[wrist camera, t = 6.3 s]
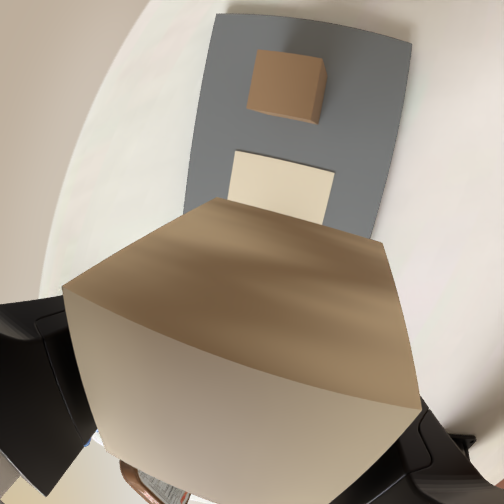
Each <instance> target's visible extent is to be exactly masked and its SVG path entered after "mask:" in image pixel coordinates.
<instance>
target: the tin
mask: <svg viewBox="0 0 504 504" xmlns="http://www.w3.org/2000/svg"><path fill="white" fill-rule="evenodd" d="M120 470H121V473H122V475H123V478H124V479H125V481H126V482H127V483H128V484H129V485H130V486H131V487H132V488H133V489H134V490H135V491H136V492H137V493H138V494H139V495H140V496H141V497H143V498H144V499H145V500H146V501H147V502H148V503H149V504H187V503H188V500H189V498H190V495H191V493H188V492H186V491H183V490H181V489H179V488H176V487H174V486H172V485H170V484H167V483H165V482H163V481H161V480H159V479H157V478H155V477H152V476H150V475H148V474H146V473H144V472H142V471H140V470H139V469H137V468H135V467H133V466H131V465H129V464H127V463H125V462H124V461H122V460H120Z"/></svg>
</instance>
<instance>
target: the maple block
mask: <svg viewBox="0 0 504 504" xmlns="http://www.w3.org/2000/svg"><path fill="white" fill-rule="evenodd" d="M62 291H63V298H64V304H65V310H66V315H67V320H68V325H69V330H70V335H71V340H72V344H73V348H74V353H75V357H76V361H77V365H78V368H79V372H80V376H81V379H82V383H83V386H84V390H85V393H86V396H87V399H88V402H89V405H90V409H91V412H92V414H93V417H94V420H95V423H96V426H97V429H98V431H99V434H100V437H101V439H102V442H103V444H104V447H105V449H106V451H107V452H108V453H110V454H111V455H113V456H115V457H117V458H118V459H120V460H122V461H124V462H125V463H127V464H129V465H131V466H133V467H135V468H137V469H139V470H140V471H142V472H144V473H146V474H148V475H150V476H152V477H155V478H157V479H159V480H161V481H163V482H165V483H167V484H170V485H172V486H174V487H176V488H179V489H181V490H183V491H186V492H188V493H191V494H193V495H196V496H198V497H201V498H204V499H206V500H209V501H212V502H215V503H217V504H329V503H330V502H331V501H332V500H334V499H335V498H336V497H337V496H339V495H340V494H341V493H342V492H343V491H344V490H346V489H347V488H348V487H349V486H350V485H351V484H352V483H354V482H355V481H356V480H357V479H358V478H359V477H360V476H361V475H362V474H363V473H364V472H365V471H367V470H368V469H369V468H370V467H371V466H372V465H373V464H374V463H375V462H376V461H377V460H378V459H379V458H380V457H381V456H382V455H383V454H384V453H385V452H386V451H387V450H388V449H389V448H390V446H391V445H392V444H393V443H394V442H395V441H396V440H397V439H398V438H399V437H400V436H401V434H402V433H403V432H404V431H405V430H406V429H407V428H408V426H409V425H410V424H411V423H412V422H413V421H414V419H415V418H416V417H417V416H418V415H419V413H420V412H421V411H422V407H421V400H420V394H419V388H418V382H417V376H416V371H415V366H414V361H413V356H412V351H411V346H410V342H409V337H408V333H407V328H406V324H405V320H404V316H403V312H402V308H401V304H400V301H399V297H398V293H397V290H396V286H395V282H394V279H393V276H392V272H391V269H390V266H389V262H388V259H387V256H386V253H385V250H384V246H383V243H381V242H378V241H374V240H371V239H368V238H365V237H361V236H358V235H355V234H351V233H348V232H344V231H341V230H338V229H334V228H331V227H327V226H324V225H320V224H317V223H313V222H310V221H306V220H302V219H299V218H295V217H292V216H288V215H284V214H281V213H277V212H273V211H269V210H266V209H262V208H258V207H254V206H250V205H246V204H242V203H239V202H235V201H231V200H227V199H223V198H219V197H216V198H214V199H212V200H210V201H208V202H206V203H204V204H202V205H201V206H199V207H197V208H195V209H193V210H191V211H189V212H187V213H186V214H184V215H182V216H180V217H178V218H176V219H174V220H173V221H171V222H169V223H167V224H165V225H164V226H162V227H160V228H158V229H156V230H155V231H153V232H151V233H149V234H148V235H146V236H144V237H142V238H141V239H139V240H137V241H135V242H134V243H132V244H130V245H128V246H127V247H125V248H123V249H122V250H120V251H118V252H117V253H115V254H113V255H112V256H110V257H108V258H107V259H105V260H103V261H102V262H100V263H98V264H97V265H95V266H93V267H92V268H90V269H88V270H87V271H85V272H84V273H82V274H80V275H79V276H77V277H76V278H74V279H72V280H71V281H69V282H68V283H66V284H65V285H63V286H62Z"/></svg>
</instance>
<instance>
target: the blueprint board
mask: <svg viewBox="0 0 504 504" xmlns="http://www.w3.org/2000/svg"><path fill="white" fill-rule="evenodd" d="M411 50H412V44H411V43H408V42H405V41H402V40H398V39H395V38H392V37H388V36H385V35H381V34H377V33H373V32H369V31H365V30H361V29H357V28H352V27H347V26H342V25H337V24H332V23H326V22H320V21H314V20H307V19H299V18H291V17H282V16H270V15H255V14H216V18H215V22H214V27H213V31H212V36H211V40H210V45H209V50H208V54H207V59H206V64H205V70H204V75H203V80H202V86H201V91H200V97H199V102H198V108H197V114H196V121H195V127H194V133H193V140H192V147H191V154H190V161H189V169H188V177H187V185H186V193H185V202H184V211H183V215H184V214H186V213H187V212H189V211H191V210H193V209H195V208H197V207H199V206H201V205H202V204H204V203H206V202H208V201H210V200H212V199H214V198H216V197H219V198H223V199H227V200H231V201H235V202H239V203H242V204H246V205H250V206H254V207H258V208H262V209H266V210H269V211H273V212H277V213H281V214H284V215H288V216H292V217H295V218H299V219H302V220H306V221H310V222H313V223H317V224H320V225H324V226H327V227H331V228H334V229H338V230H341V231H344V232H348V233H351V234H355V235H358V236H361V237H365V238H368V239H370V236H371V233H372V229H373V226H374V223H375V219H376V216H377V213H378V209H379V206H380V202H381V198H382V195H383V191H384V187H385V183H386V180H387V176H388V172H389V168H390V164H391V159H392V155H393V151H394V146H395V142H396V137H397V133H398V128H399V123H400V118H401V113H402V108H403V102H404V97H405V91H406V85H407V79H408V72H409V65H410V58H411Z"/></svg>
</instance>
